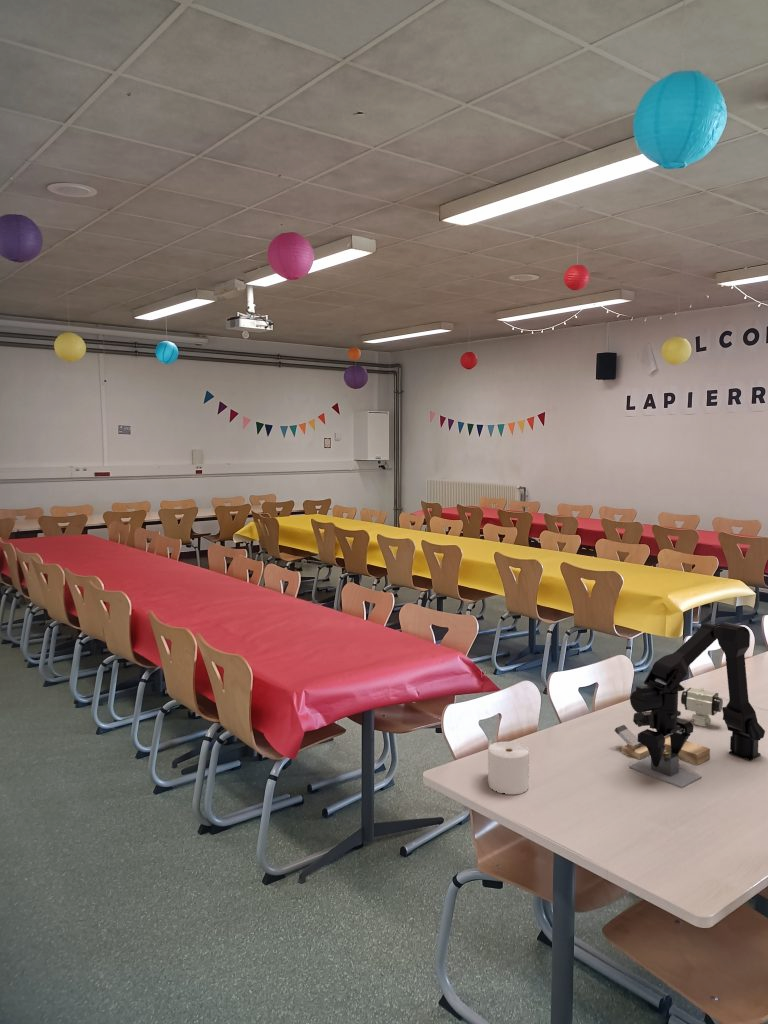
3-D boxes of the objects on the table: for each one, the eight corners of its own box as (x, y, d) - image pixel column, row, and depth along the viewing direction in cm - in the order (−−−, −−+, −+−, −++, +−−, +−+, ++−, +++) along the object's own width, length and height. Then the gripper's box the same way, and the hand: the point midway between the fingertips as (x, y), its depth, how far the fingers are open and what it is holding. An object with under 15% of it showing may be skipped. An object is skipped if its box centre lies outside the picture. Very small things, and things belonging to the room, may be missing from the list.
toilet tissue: (521, 798, 184) (521, 761, 184) (477, 788, 190) (477, 751, 189) (534, 782, 194) (534, 746, 193) (492, 772, 200) (492, 737, 199)
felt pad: (701, 777, 196) (701, 776, 196) (682, 788, 190) (682, 786, 190) (648, 758, 208) (648, 756, 208) (628, 767, 202) (628, 766, 202)
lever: (642, 743, 212) (624, 724, 217) (635, 747, 209) (616, 727, 214) (641, 746, 212) (622, 727, 217) (633, 749, 210) (614, 730, 215)
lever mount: (652, 754, 211) (652, 742, 211) (639, 760, 207) (639, 748, 207) (634, 747, 216) (634, 735, 216) (620, 753, 212) (621, 741, 212)
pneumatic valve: (684, 718, 239) (685, 683, 238) (722, 726, 232) (723, 690, 231) (679, 723, 235) (680, 687, 234) (717, 732, 228) (718, 695, 227)
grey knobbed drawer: (678, 772, 198) (679, 753, 197) (670, 776, 196) (671, 756, 195) (658, 765, 203) (659, 746, 202) (650, 769, 200) (651, 749, 200)
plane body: (709, 758, 208) (710, 743, 208) (696, 765, 204) (697, 749, 203) (665, 743, 219) (665, 728, 219) (652, 749, 215) (652, 734, 214)
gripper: (658, 692, 210) (657, 744, 211) (620, 706, 198) (619, 761, 199) (695, 702, 201) (693, 756, 202) (657, 718, 189) (656, 775, 191)
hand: (665, 762), depth 199 cm, fingers open, 9 cm apart
